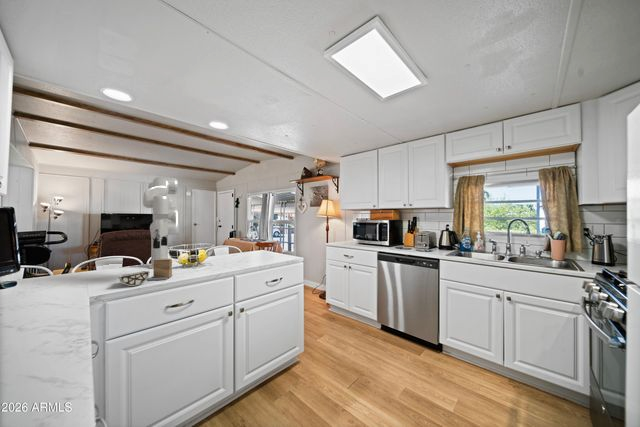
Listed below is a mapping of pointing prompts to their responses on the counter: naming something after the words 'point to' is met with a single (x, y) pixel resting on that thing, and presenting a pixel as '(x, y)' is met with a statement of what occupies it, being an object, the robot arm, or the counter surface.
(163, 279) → the mat
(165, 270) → the tan cardboard box
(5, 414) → the counter surface
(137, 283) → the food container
